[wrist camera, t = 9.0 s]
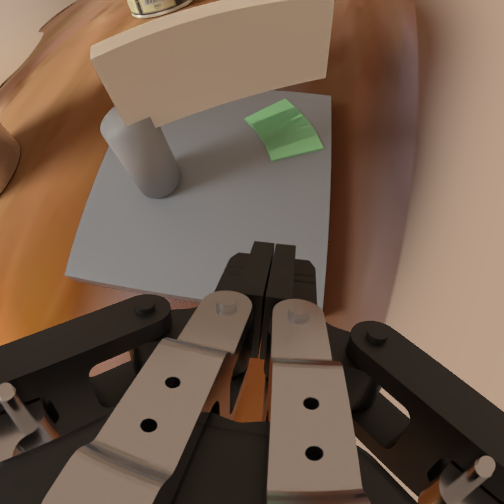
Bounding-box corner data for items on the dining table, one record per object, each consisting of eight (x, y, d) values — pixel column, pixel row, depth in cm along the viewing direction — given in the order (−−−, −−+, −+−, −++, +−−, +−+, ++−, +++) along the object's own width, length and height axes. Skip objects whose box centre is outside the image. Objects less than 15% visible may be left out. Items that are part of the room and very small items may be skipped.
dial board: (75, 280, 22) (63, 274, 20) (139, 102, 28) (134, 90, 26) (318, 317, 20) (322, 313, 18) (329, 107, 26) (331, 94, 24)
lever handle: (143, 205, 22) (58, 85, 11) (136, 170, 23) (63, 53, 12) (322, 143, 22) (343, 2, 11) (304, 114, 23) (312, -20, 12)
